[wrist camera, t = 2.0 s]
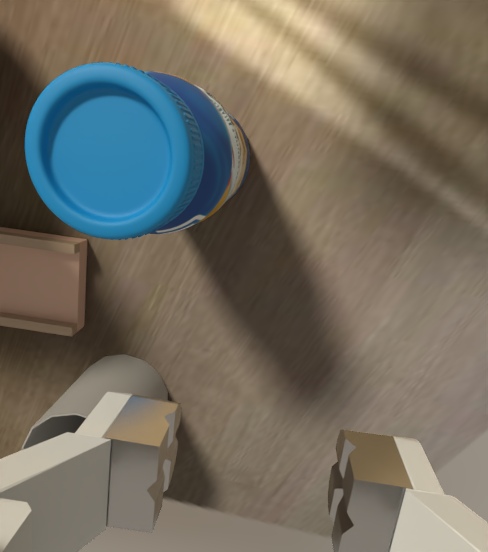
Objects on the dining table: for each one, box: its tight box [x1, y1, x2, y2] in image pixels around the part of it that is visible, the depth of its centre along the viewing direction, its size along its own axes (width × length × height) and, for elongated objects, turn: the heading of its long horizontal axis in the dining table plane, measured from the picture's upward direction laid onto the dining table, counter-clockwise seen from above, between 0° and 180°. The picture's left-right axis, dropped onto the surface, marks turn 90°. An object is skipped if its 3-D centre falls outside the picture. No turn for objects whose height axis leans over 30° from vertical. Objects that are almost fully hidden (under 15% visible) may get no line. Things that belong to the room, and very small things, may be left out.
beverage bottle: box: [25, 62, 250, 240], centre depth 27 cm, size 8×8×20 cm
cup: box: [22, 354, 168, 450], centre depth 38 cm, size 8×8×10 cm
